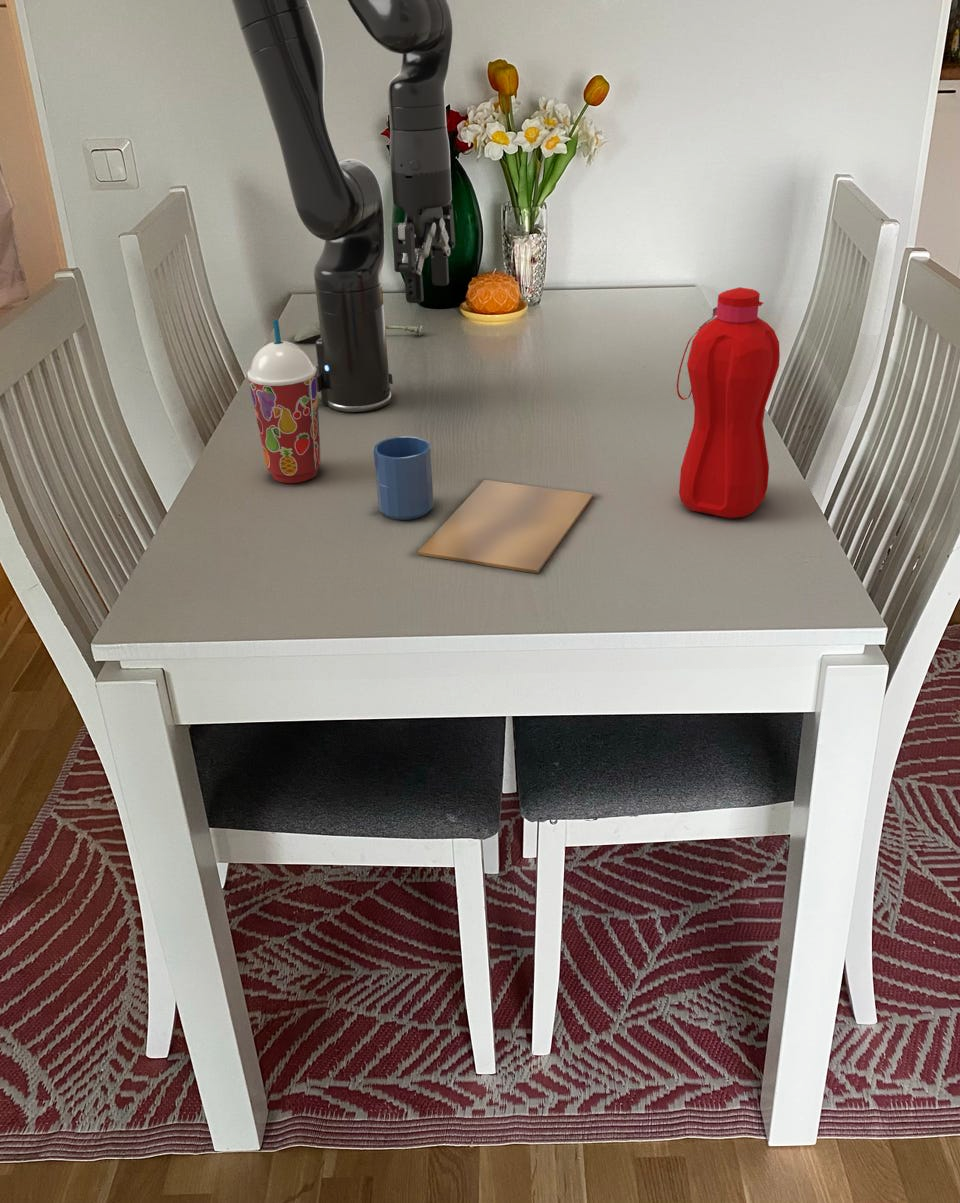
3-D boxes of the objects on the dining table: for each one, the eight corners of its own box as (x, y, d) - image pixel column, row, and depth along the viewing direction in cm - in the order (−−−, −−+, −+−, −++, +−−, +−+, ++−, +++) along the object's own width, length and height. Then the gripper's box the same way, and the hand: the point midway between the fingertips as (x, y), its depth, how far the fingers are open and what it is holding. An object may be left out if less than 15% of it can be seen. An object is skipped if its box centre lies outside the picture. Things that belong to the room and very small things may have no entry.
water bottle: (685, 478, 141) (698, 274, 129) (772, 495, 136) (795, 284, 124) (656, 508, 134) (666, 294, 122) (746, 527, 129) (767, 306, 117)
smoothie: (338, 465, 149) (322, 312, 138) (309, 491, 142) (290, 332, 132) (281, 458, 151) (261, 307, 141) (249, 484, 144) (226, 327, 134)
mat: (418, 554, 126) (417, 551, 126) (484, 482, 142) (484, 479, 142) (538, 574, 122) (538, 570, 122) (593, 497, 138) (593, 494, 137)
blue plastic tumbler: (369, 517, 135) (364, 454, 131) (393, 495, 140) (388, 433, 136) (420, 525, 133) (416, 461, 129) (442, 502, 138) (439, 439, 134)
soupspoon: (297, 336, 199) (292, 350, 194) (294, 317, 197) (288, 331, 192) (424, 328, 198) (421, 342, 192) (422, 309, 196) (419, 322, 190)
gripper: (416, 154, 152) (423, 278, 160) (368, 174, 140) (379, 306, 149) (469, 156, 149) (474, 281, 157) (424, 176, 138) (432, 310, 146)
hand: (428, 293), depth 153 cm, fingers open, 8 cm apart
